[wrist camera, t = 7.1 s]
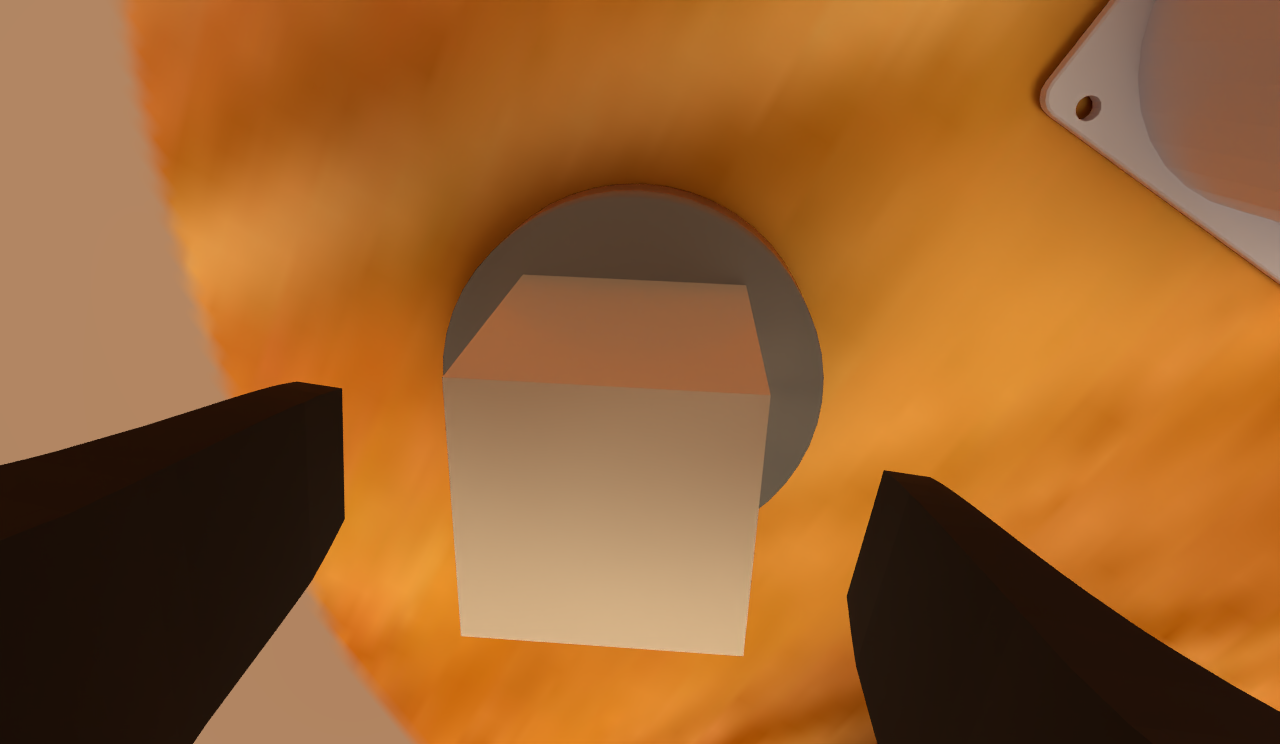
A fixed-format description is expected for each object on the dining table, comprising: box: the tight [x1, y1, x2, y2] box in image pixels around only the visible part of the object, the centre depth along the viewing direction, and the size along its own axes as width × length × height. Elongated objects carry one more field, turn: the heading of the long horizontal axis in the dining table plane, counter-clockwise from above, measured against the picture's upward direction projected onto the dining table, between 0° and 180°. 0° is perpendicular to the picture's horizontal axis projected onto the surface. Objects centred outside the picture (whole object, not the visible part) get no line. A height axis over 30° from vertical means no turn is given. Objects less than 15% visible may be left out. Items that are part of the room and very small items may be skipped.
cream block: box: [442, 275, 771, 656], centre depth 15 cm, size 5×5×6 cm
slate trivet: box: [443, 184, 824, 508], centre depth 19 cm, size 9×9×2 cm
